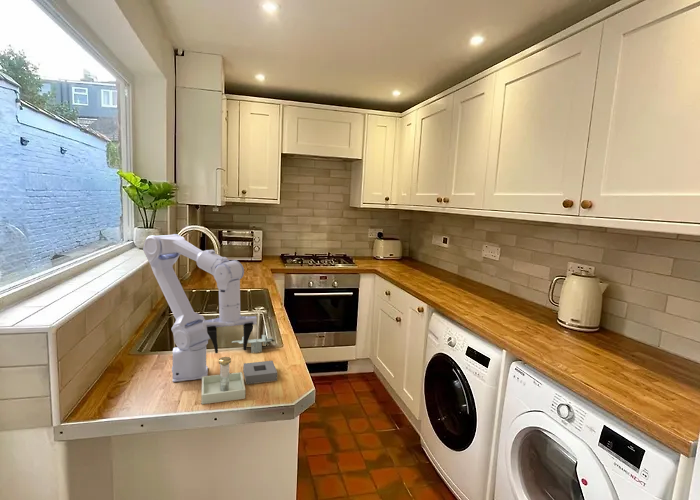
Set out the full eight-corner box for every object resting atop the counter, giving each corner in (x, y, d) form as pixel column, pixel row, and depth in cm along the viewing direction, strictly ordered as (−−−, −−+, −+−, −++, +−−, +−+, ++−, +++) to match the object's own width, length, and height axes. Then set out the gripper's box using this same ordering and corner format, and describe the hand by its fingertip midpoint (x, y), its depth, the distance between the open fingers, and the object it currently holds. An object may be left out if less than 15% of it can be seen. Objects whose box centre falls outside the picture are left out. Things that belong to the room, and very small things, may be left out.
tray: (201, 404, 97) (201, 395, 97) (202, 384, 107) (202, 376, 107) (245, 398, 101) (245, 389, 100) (241, 380, 111) (241, 372, 111)
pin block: (246, 384, 109) (246, 376, 108) (243, 371, 117) (243, 363, 117) (277, 380, 112) (277, 372, 111) (272, 367, 120) (272, 360, 120)
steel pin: (218, 392, 102) (218, 362, 101) (218, 387, 105) (218, 357, 104) (230, 391, 103) (231, 361, 102) (230, 386, 106) (230, 356, 105)
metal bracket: (277, 335, 134) (234, 338, 129) (278, 351, 134) (234, 356, 128) (271, 333, 148) (231, 336, 142) (271, 348, 147) (231, 352, 141)
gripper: (201, 309, 99) (203, 358, 100) (257, 305, 104) (258, 352, 105) (202, 303, 106) (203, 349, 107) (255, 299, 110) (255, 344, 112)
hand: (230, 350), depth 107 cm, fingers open, 7 cm apart
